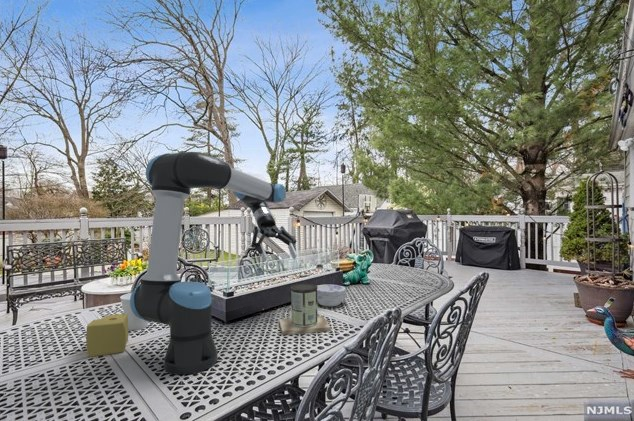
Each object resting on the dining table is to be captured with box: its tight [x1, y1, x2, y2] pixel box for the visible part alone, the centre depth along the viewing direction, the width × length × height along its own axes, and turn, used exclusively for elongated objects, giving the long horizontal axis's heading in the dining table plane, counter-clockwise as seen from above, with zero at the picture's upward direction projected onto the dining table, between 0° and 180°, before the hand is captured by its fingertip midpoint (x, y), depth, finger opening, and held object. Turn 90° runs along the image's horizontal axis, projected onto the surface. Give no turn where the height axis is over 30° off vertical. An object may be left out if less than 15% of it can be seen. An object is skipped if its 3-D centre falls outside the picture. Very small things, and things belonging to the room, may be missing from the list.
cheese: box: [85, 313, 129, 358], centre depth 113 cm, size 10×11×10 cm
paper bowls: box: [316, 284, 347, 308], centre depth 163 cm, size 15×15×8 cm
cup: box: [119, 292, 150, 331], centre depth 133 cm, size 12×12×12 cm
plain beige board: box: [278, 315, 332, 336], centre depth 133 cm, size 18×13×2 cm
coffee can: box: [290, 283, 318, 327], centre depth 133 cm, size 10×10×14 cm
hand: (280, 258), depth 138 cm, fingers open, 13 cm apart
